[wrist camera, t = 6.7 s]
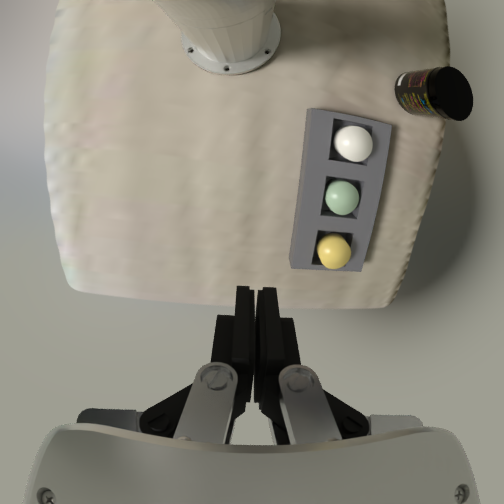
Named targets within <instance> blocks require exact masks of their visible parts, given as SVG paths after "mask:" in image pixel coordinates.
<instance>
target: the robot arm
mask: <svg viewBox="0 0 504 504" xmlns="http://www.w3.org/2000/svg"><path fill="white" fill-rule="evenodd" d="M152 1H154V2H155V3H156V4H157V5H158V6H159V7H160V8H161V9H162V10H163V11H164V12H165V14H166V15H167V16H168V17H169V18H170V19H171V20H172V21H173V22H174V23H175V25H176V26H177V27H178V28H179V29H180V30H181V43H182V47H183V49H184V51H185V53H186V55H187V56H188V58H189V59H190V60H191V61H192V62H193V63H194V64H195V65H197V66H198V67H200V68H201V69H203V70H205V71H208V72H210V73H214V74H219V75H239V74H243V73H247V72H250V71H252V70H254V69H257V68H258V67H260V66H261V65H263V64H264V63H266V62H267V61H268V60H269V59H270V58H271V57H272V55H273V54H274V53H275V51H276V49H277V47H278V45H279V41H280V37H281V28H280V23H279V20H278V18H277V16H276V15H275V13H274V12H273V11H274V6H275V2H276V0H152ZM191 50H194V52H192V53H190V51H191ZM266 51H268V52H269V54H265V52H266ZM226 68H229V71H226ZM253 375H254V402H255V403H257V402H258V403H259V409H260V410H261V412H262V413H263V414H264V415H266V416H267V417H268V421H269V426H270V430H271V435H272V439H273V443H274V445H263V446H262V445H230V444H231V439H232V435H233V431H234V426H235V422H236V418H237V417H239V416H240V415H241V414H243V413H244V412H245V407H246V402H250V399H251V390H252V383H253ZM23 504H480V499H479V495H478V491H477V487H476V483H475V479H474V475H473V472H472V470H471V466H470V463H469V460H468V458H467V455H466V453H465V451H464V449H463V447H462V445H461V443H460V441H459V440H458V438H457V437H456V436H455V435H454V434H453V433H452V432H450V431H448V430H445V429H442V428H436V427H423V424H422V422H421V421H420V419H418V418H417V417H415V416H411V415H370V417H367V416H364V415H363V414H362V413H360V412H359V411H357V410H355V409H353V408H352V407H350V406H349V405H347V404H345V403H344V402H342V401H341V400H339V399H337V398H336V397H334V396H333V395H331V394H330V393H328V392H326V391H325V390H323V389H322V386H321V383H320V381H319V378H318V376H317V375H316V373H315V372H314V371H313V370H312V369H311V368H309V367H307V366H303V365H301V362H300V355H299V350H298V344H297V339H296V332H295V327H294V322H293V318H280V315H279V307H278V299H277V291H276V288H273V287H263V290H258V296H257V306H256V317H255V301H254V290H249V286H237V291H236V305H235V316H231V315H217V320H216V327H215V334H214V341H213V348H212V356H211V363H208V364H206V365H204V366H202V367H201V368H200V369H199V370H198V372H197V374H196V377H195V379H194V382H193V383H192V384H191V385H189V386H187V387H185V388H184V389H182V390H181V391H179V392H177V393H175V394H174V395H172V396H170V397H168V398H167V399H165V400H163V401H161V402H160V403H158V404H156V405H154V406H152V407H150V408H148V409H147V410H146V411H144V412H137V411H136V410H120V409H96V408H89V409H85V410H84V411H82V412H81V413H80V414H79V416H78V418H77V423H74V424H65V425H61V426H58V427H55V428H54V429H52V430H51V431H50V432H49V433H48V434H47V436H46V437H45V439H44V440H43V442H42V444H41V446H40V448H39V450H38V452H37V455H36V457H35V460H34V462H33V465H32V468H31V471H30V474H29V478H28V482H27V486H26V490H25V494H24V499H23Z"/></svg>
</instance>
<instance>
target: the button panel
mask: <svg viewBox="0 0 504 504" xmlns="http://www.w3.org/2000/svg"><path fill="white" fill-rule="evenodd" d="M346 125H351V126H358V127H361V128H363V129H365V130H366V131H367V132H368V133H369V134H370V136H371V138H372V142H373V147H372V151H371V153H370V155H369V156H368V157H367V158H366V159H365V160H363V161H359V162H354V161H351V160H348V159H346V158H344V157H342V156H341V155H339V154H338V153H337V151H336V150H335V148H334V144H333V139H334V135H335V133H336V131H337V130H338V129H339V128H341V127H343V126H346ZM391 128H392V125H389V124H386V123H382V122H378V121H374V120H370V119H365V118H361V117H357V116H352V115H347V114H342V113H337V112H331V111H325V110H319V109H313V108H311V109H307V115H306V125H305V135H304V145H303V154H302V163H301V171H300V180H299V188H298V196H297V204H296V211H295V219H294V226H293V233H292V240H291V247H290V254H289V261H290V265H291V268H292V269H312V270H333V271H357V272H361V270H362V267H363V263H364V260H365V256H366V253H367V249H368V245H369V242H370V238H371V234H372V230H373V226H374V222H375V217H376V213H377V209H378V204H379V199H380V195H381V190H382V185H383V179H384V174H385V168H386V163H387V157H388V150H389V143H390V136H391ZM336 178H341V179H344V180H346V181H348V182H349V183H350V184H352V185H353V186H354V187H355V188H356V189H357V191H358V194H359V202H358V205H357V207H356V208H355V209H354V210H353V211H352V212H351V213H349V214H346V215H339V214H336V213H334V212H333V211H332V210H331V209H330V208H329V207H328V205H327V204H326V203H325V201H324V199H323V195H324V189H325V186H326V184H327V183H328V182H329V181H331V180H333V179H336ZM328 233H338V234H340V235H341V236H342V237H343V238H344V239H345V241H346V242H347V244H348V245H349V247H350V249H351V256H350V259H349V261H348V262H347V263H346V264H345V265H344V266H343V267H341V268H338V269H329V268H327V267H325V266H324V265H323V264H322V262H321V260H320V258H319V255H318V253H317V243H318V241H319V240H320V239H321V237H323V236H324V235H326V234H328Z"/></svg>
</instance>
